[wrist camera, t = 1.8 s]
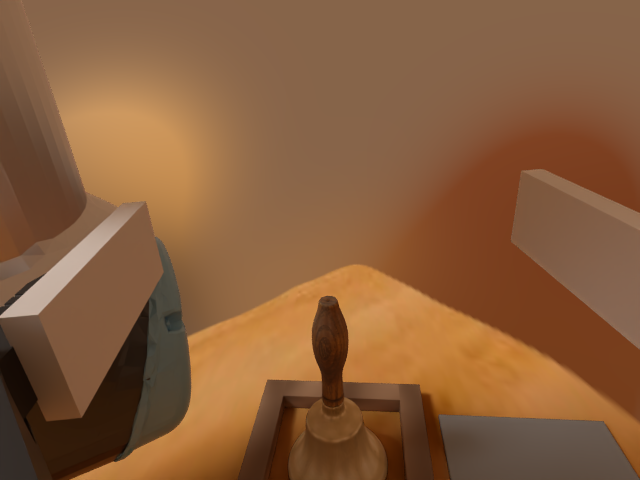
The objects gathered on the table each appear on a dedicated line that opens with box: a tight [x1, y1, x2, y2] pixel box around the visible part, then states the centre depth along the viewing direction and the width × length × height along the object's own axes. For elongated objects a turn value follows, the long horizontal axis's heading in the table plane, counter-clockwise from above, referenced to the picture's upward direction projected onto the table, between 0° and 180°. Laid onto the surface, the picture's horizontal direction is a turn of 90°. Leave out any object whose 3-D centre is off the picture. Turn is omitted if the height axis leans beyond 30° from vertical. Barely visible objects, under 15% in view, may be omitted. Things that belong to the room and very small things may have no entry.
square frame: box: [238, 380, 434, 480], centre depth 34 cm, size 15×15×2 cm
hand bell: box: [288, 296, 388, 480], centre depth 31 cm, size 8×8×16 cm
